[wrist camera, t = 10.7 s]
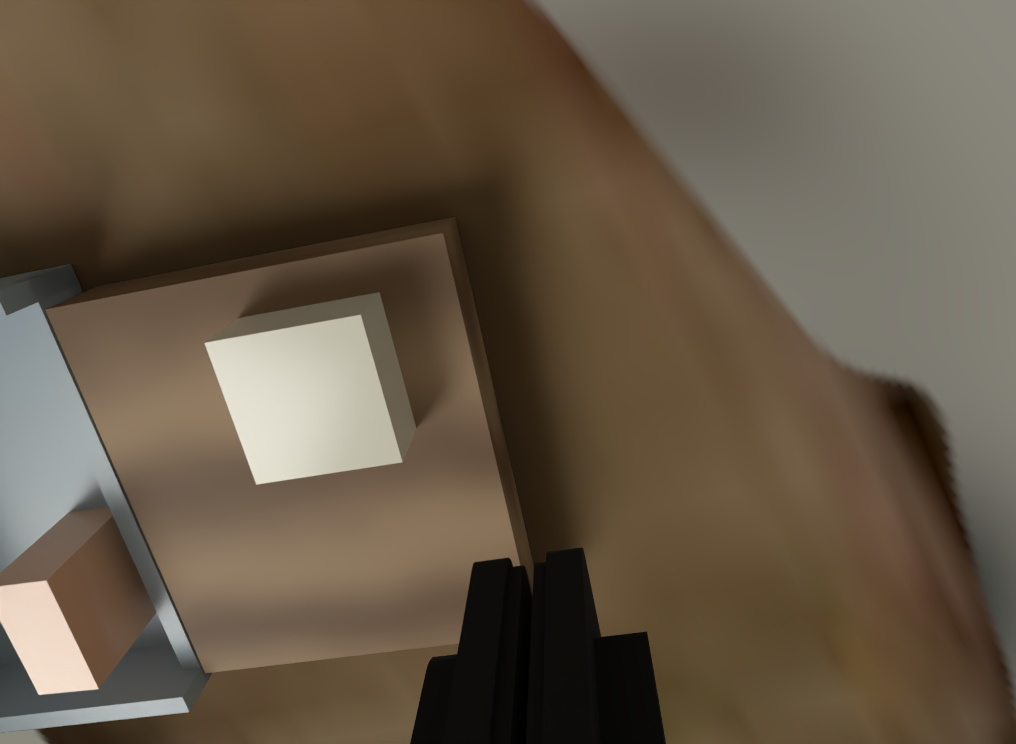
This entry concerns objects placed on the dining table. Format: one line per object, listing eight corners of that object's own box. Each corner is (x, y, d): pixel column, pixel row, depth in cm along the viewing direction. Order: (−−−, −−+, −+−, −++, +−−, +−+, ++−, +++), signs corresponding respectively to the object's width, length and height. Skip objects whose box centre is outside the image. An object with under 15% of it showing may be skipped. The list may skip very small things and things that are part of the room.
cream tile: (416, 428, 26) (402, 462, 24) (282, 449, 27) (256, 484, 24) (379, 292, 24) (360, 314, 22) (237, 318, 25) (204, 342, 22)
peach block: (98, 689, 28) (38, 694, 28) (164, 602, 33) (112, 607, 33) (46, 580, 26) (-17, 588, 26) (123, 505, 31) (68, 512, 31)
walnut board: (538, 585, 32) (536, 634, 29) (234, 624, 34) (205, 673, 31) (455, 216, 26) (443, 232, 23) (96, 286, 28) (45, 309, 25)
